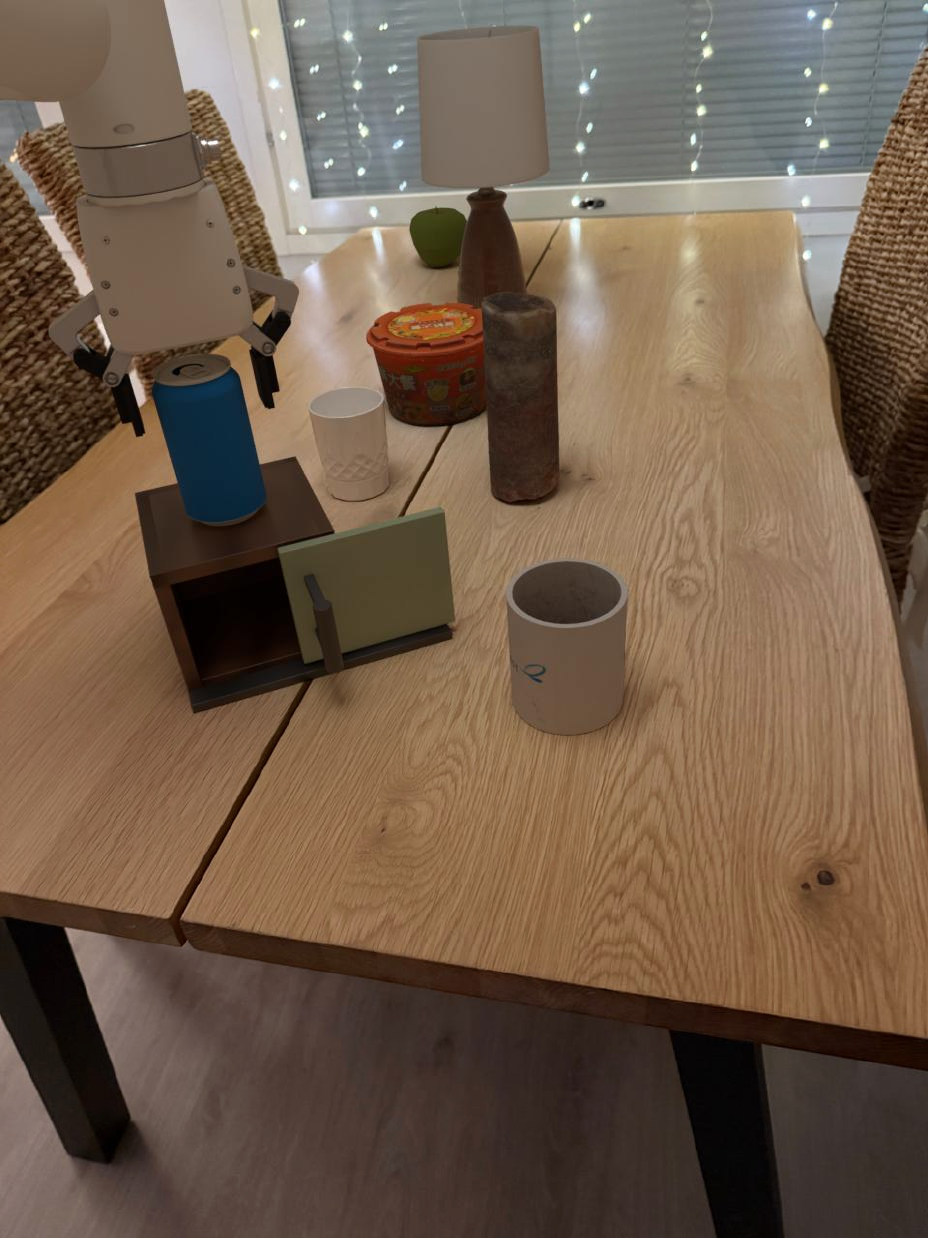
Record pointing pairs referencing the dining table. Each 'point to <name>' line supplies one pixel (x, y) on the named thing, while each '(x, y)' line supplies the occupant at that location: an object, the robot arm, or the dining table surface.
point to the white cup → (351, 441)
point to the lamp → (483, 140)
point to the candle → (521, 394)
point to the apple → (438, 235)
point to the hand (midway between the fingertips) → (204, 415)
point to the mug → (567, 644)
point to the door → (368, 585)
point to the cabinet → (241, 591)
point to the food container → (431, 362)
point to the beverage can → (209, 438)
